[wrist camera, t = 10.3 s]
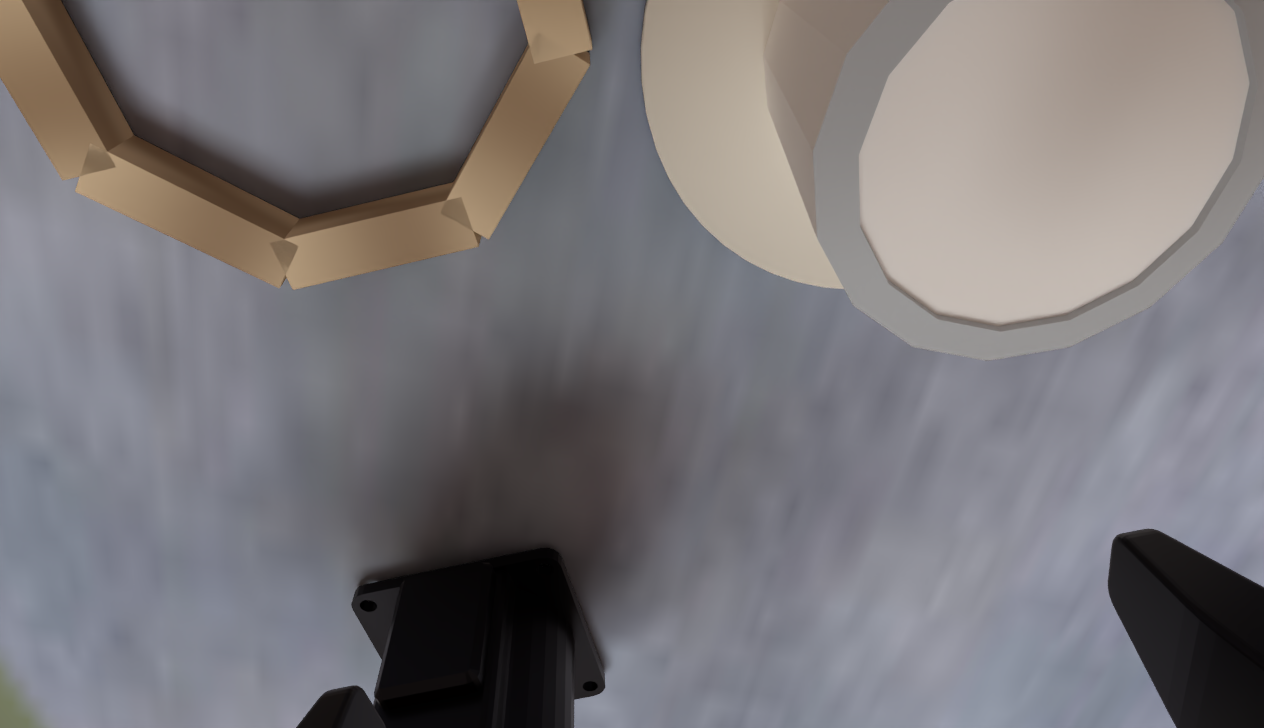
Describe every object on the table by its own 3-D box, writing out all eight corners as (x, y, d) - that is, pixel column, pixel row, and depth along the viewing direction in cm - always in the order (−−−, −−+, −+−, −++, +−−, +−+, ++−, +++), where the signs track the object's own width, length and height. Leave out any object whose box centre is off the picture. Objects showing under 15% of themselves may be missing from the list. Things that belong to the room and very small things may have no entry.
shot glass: (931, 253, 20) (1080, 417, 14) (679, 140, 18) (728, 275, 12) (1124, -31, 17) (1417, 27, 11) (842, -199, 15) (1011, -236, 9)
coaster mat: (1125, 227, 21) (1134, 233, 20) (690, 324, 21) (692, 331, 21) (1179, -333, 15) (1193, -337, 15) (584, -175, 16) (585, -175, 15)
